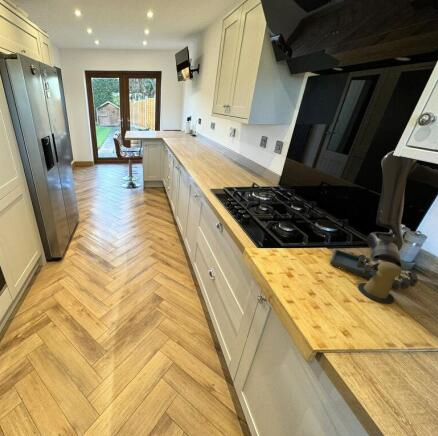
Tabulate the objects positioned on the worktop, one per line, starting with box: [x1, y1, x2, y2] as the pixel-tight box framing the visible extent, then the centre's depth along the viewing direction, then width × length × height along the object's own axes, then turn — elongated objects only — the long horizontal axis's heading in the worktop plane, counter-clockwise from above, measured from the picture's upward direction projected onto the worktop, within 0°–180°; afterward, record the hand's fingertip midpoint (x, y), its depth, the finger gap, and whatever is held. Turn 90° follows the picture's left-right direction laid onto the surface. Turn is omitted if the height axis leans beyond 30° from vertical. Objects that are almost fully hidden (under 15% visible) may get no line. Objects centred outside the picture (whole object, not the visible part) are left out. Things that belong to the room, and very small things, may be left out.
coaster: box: [357, 282, 395, 305], centre depth 77 cm, size 9×9×1 cm
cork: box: [364, 262, 402, 299], centre depth 75 cm, size 6×6×11 cm
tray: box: [329, 248, 401, 290], centre depth 89 cm, size 19×11×2 cm, turn 48°
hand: (385, 280), depth 73 cm, fingers open, 8 cm apart
